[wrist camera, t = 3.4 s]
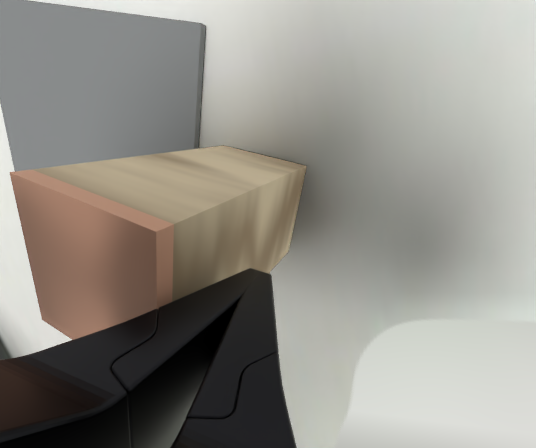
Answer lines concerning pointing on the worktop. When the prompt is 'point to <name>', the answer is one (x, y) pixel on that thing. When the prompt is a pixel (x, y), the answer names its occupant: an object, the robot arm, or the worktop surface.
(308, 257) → the worktop surface
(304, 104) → the worktop surface
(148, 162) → the pine block
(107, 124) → the mat
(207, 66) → the worktop surface
